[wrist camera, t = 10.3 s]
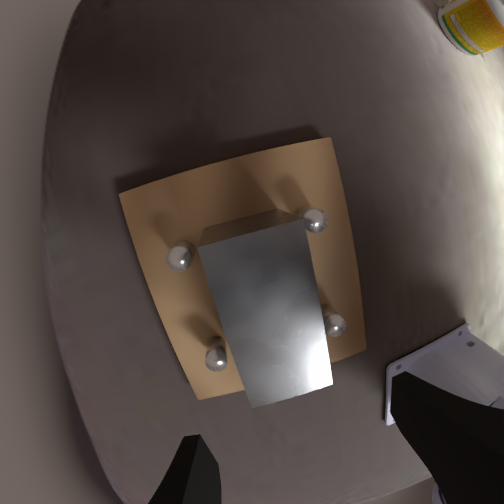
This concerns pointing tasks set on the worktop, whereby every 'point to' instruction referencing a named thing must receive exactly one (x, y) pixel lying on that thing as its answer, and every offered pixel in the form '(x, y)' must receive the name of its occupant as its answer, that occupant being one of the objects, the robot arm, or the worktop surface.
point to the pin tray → (231, 208)
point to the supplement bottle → (473, 24)
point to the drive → (268, 304)
